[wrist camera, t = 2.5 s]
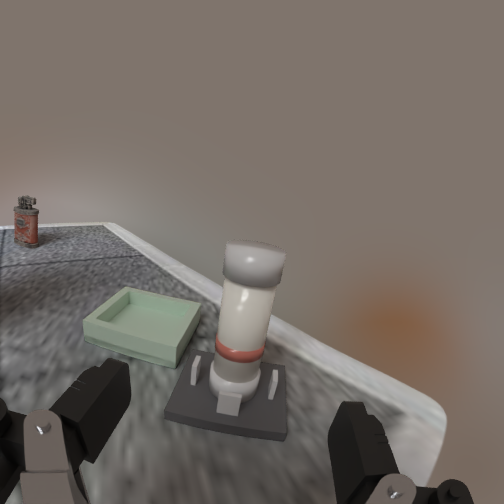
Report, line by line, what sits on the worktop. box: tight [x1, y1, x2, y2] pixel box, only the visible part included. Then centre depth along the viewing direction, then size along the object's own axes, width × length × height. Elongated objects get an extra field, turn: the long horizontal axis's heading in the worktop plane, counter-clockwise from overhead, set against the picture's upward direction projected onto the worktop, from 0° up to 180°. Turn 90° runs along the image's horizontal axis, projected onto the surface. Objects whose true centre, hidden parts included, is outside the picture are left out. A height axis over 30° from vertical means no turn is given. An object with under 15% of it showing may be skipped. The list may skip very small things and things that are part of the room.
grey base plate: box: [164, 349, 287, 441], centre depth 23 cm, size 9×9×3 cm
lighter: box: [14, 196, 39, 249], centre depth 47 cm, size 8×3×10 cm, turn 79°
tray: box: [83, 286, 201, 369], centre depth 30 cm, size 10×10×2 cm
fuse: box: [209, 240, 286, 403], centre depth 21 cm, size 4×4×12 cm
